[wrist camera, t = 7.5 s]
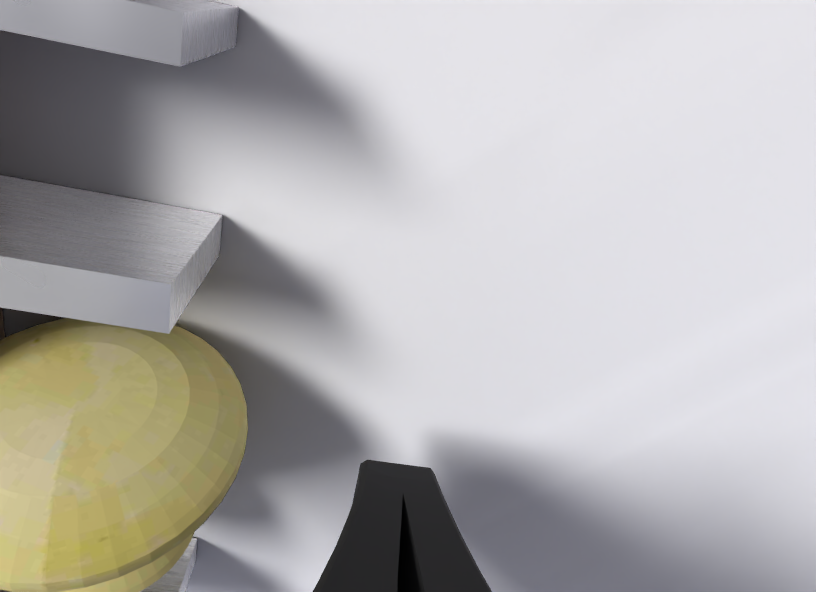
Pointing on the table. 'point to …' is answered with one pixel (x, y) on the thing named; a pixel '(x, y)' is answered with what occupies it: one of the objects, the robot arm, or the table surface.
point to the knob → (110, 453)
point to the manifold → (111, 196)
